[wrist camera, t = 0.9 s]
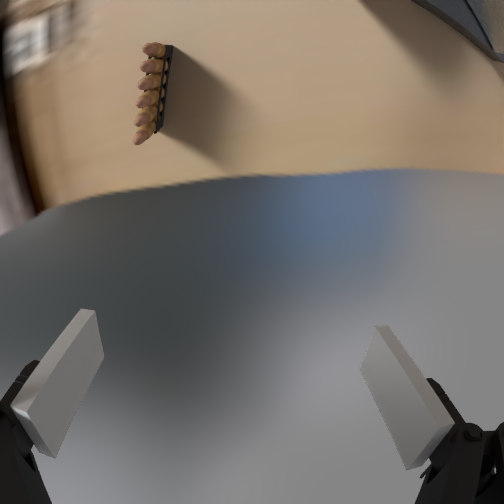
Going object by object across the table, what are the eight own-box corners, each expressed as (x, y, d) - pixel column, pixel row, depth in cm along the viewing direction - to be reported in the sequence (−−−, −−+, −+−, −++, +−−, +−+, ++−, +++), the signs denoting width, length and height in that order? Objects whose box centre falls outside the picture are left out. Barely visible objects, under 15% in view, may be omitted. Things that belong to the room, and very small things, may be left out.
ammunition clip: (158, 44, 29) (136, 37, 19) (173, 45, 29) (157, 37, 20) (148, 125, 35) (125, 152, 25) (162, 126, 35) (144, 153, 26)
